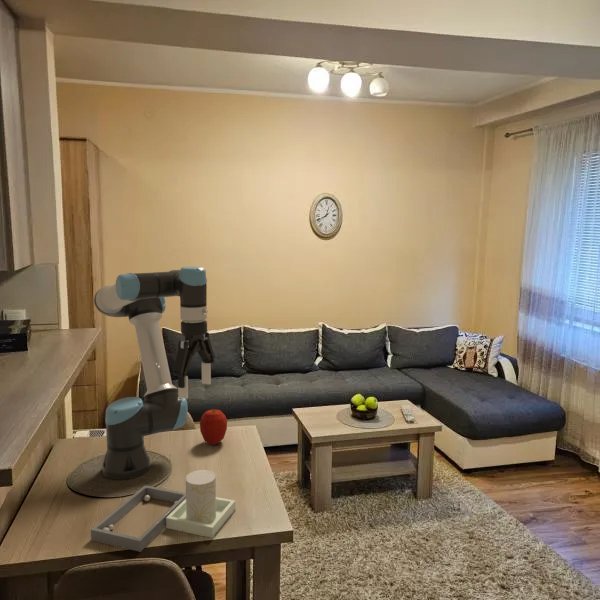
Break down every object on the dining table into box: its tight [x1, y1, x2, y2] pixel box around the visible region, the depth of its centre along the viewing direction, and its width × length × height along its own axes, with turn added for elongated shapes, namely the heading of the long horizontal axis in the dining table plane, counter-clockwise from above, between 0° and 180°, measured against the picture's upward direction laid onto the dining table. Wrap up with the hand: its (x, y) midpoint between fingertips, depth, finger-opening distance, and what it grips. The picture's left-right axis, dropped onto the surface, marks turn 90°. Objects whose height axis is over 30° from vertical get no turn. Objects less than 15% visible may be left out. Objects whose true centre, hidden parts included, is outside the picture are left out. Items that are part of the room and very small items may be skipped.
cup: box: [185, 469, 217, 524], centre depth 144 cm, size 8×8×12 cm
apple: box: [199, 408, 228, 446], centre depth 193 cm, size 10×10×14 cm
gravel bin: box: [90, 484, 186, 553], centre depth 144 cm, size 15×24×3 cm, turn 162°
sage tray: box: [165, 496, 236, 539], centre depth 145 cm, size 14×14×3 cm
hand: (195, 390), depth 154 cm, fingers open, 13 cm apart
